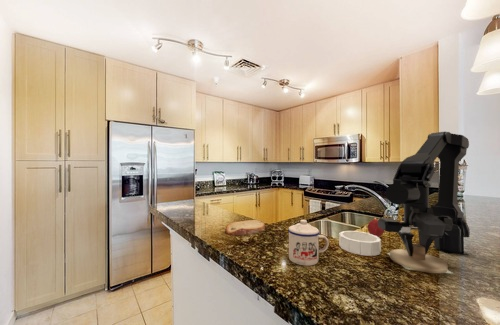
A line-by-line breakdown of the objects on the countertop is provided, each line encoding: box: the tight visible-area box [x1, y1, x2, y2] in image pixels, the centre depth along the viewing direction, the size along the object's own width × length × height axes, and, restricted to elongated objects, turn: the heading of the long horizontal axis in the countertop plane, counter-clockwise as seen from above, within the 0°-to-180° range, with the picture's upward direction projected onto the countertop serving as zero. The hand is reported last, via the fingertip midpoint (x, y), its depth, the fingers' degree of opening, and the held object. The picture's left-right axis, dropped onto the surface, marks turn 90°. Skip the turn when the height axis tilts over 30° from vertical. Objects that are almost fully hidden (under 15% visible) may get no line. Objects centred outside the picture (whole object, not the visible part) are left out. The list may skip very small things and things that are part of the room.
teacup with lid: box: [287, 219, 330, 267], centre depth 61 cm, size 12×9×12 cm
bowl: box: [338, 230, 382, 257], centre depth 70 cm, size 12×12×4 cm
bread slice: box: [224, 219, 266, 236], centre depth 91 cm, size 18×18×4 cm
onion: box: [366, 217, 385, 238], centre depth 83 cm, size 6×6×8 cm
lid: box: [389, 243, 449, 274], centre depth 60 cm, size 13×13×5 cm
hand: (416, 256), depth 60 cm, fingers closed on lid, 3 cm apart
